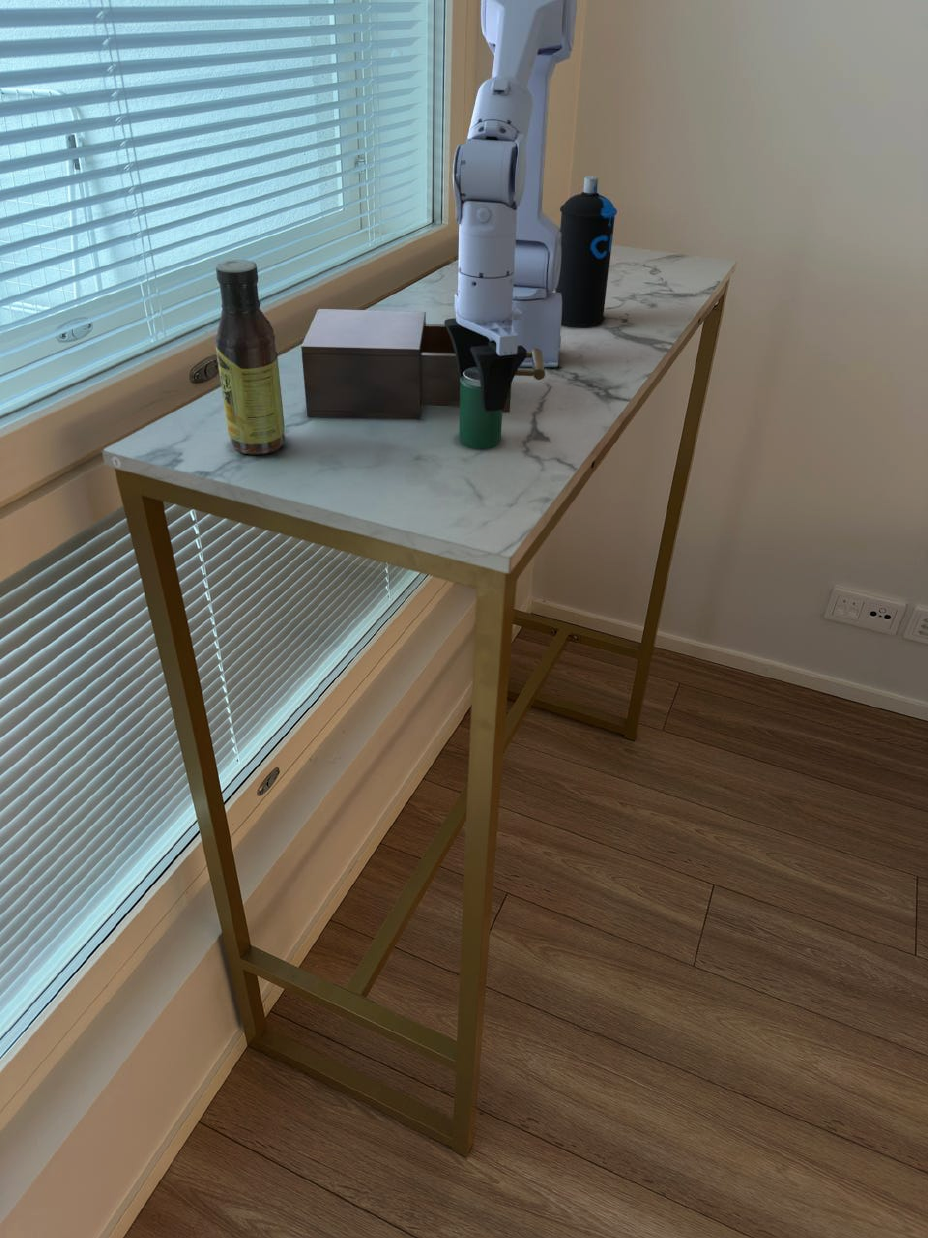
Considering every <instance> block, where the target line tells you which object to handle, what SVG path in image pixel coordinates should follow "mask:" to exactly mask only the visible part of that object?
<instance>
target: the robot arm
mask: <svg viewBox="0 0 928 1238" xmlns="http://www.w3.org/2000/svg"><path fill="white" fill-rule="evenodd" d="M577 11H578V0H481V2H480V22H481V23H480V25H481V33H482V34H483V36H484V38H485V41H486V42H487V44H488V47H489V49H490V51H491V53H492V55H493V65H492V74H491V75H492V76H491V78H488V79H486V80H485V81H484V82H483V83H482V84H481V85H480V86H479V88H478V90H477V94H476V97H475V103H474V107H473V111H472V116H471V120H470V124H469V129H468V133H467V137H466V140H465V141H464V144H461V143H458V144H457V146H456V149H455V152H454V158H453V165H452V166H453V168H452V185H453V187H452V188H453V195H454V202H455V222H456V224H459V228H458V229H459V230H458V275H457V276H458V278H457V279H458V280H457V281H458V283H457V293H455V294H454V312H455V318H446V319H445V320H444V321H443V324H445V327H446V329H447V331H448V333H449V335H450V337H451V340H452V343H453V346H454V350H455V354H456V359H457V364H458V369H459V374H460V379H461V378H462V377H463V373H464V371H465V370H466V369H469V368H472V367H477V368H478V372H479V377H480V384H481V396H482V403H483V407H484V410H485V411H486V412H489V411H498V410H503V409H504V406H505V403H506V400H507V397H508V393H509V390H510V387H511V388H512V384H513V381H514V379H515V377H516V376H515V374H516V372H517V370H518V369H519V368H520V367H532V358H526V355H527V352H532V350H534V349H540V350H541V351H542V356H543V362H544V368H557V367H559V352H560V349H561V343H562V335H561V331H562V330H561V328H562V324H561V318H562V295H561V293H555V289H556V288H557V286H558V281H559V275H560V266H561V232H560V227H559V225H557V223H556V222H554V221H553V220H552V219H551V218H550V217H549V216H547V215H546V214H545V212H543V196H544V184H545V182H544V181H545V168H546V167H545V166H546V152H547V151H546V150H547V139H548V138H547V137H548V121H549V104H550V91H551V81H552V77H553V75H554V71H555V68H556V65H557V64H559V63H562V62H564V61H566V60H568V59H570V58H571V57H572V56H571V55H572V51H573V49H574V43H575V31H576V22H577V21H576V20H577V14H578V13H577ZM489 339H490V341H489ZM488 343H489V346H488ZM532 368H533V367H532Z"/></svg>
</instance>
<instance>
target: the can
mask: <svg viewBox="0 0 928 1238" xmlns="http://www.w3.org/2000/svg"><path fill="white" fill-rule="evenodd" d="M502 423H503V413H502V410H498V411H489V412H486V411H485V410H484V407H483V403H482V396H481V384H480V377H479V372H478V368H477V367H472V368H469V369H466V370H465V371H464V373H463V377H462V378H461V380H460V407H459V429H458V430H459V431H458V432H459V433H458V434H459V435H458V440H459V443H460V444H461V445H462V446H464V447H466V448H469V449H473V450H490V449H493V448H497V447H498V446H499V445H500V444H501V442H502V427H503V424H502Z"/></svg>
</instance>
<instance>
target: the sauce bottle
mask: <svg viewBox="0 0 928 1238" xmlns="http://www.w3.org/2000/svg"><path fill="white" fill-rule="evenodd" d="M215 273H216V280H217V282H218V284H219V291H220V296H221V315H220V319H219V324H218V329H217V333H216V337H215V342H214V347H215V352H216V358H217V365H218V367H217V368H218V373H219V380H220V387H221V394H222V400H223V408H224V415H225V421H226V422H225V423H226V428H227V434H228V436H229V439H230V443H231V445H232V447H233V448H234V449H235V450H236V451H237V452H238V453H240V454H246V455H252V456H253V455H266V454H271V453H274V452H277V451H278V450H279V449H280V448H281V447H282V446H283V445H284V443H285V441H286V436H285V428H286V427H285V417H284V406H283V404H284V403H283V397H282V396H283V395H282V386H281V377H280V367H279V358H278V353H277V351H276V341H275V340H276V336H275V333H274V328H273V326H272V324H271V322H270V321H269V320H268V318H267V317H266V316H265V315H264V313H263V311H262V310H261V309H260V308H261V301H260V298H259V287H258V283H259V271H258V266H257V263H256V262H255V261H251V260H248V259H228V260H224V261H222V262H220V263H217V264H216V265H215Z"/></svg>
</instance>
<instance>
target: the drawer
mask: <svg viewBox="0 0 928 1238" xmlns="http://www.w3.org/2000/svg"><path fill="white" fill-rule="evenodd" d="M489 341H491V340H490V339H489ZM488 346H489V343H488ZM526 358H532V369H519V368H518V370H517V372H516V374H515V376H514V377H533V378H534V379H535V380H537V381H542V380H544V378H545V377H546V370H545V367H544V362H543V356H542V351H541V350H540V349H534V350H532V352H527V355H526ZM420 377H421V406H422V407H447V408H448V407H449V408H450V407H451V408H460V380H461V379H460V374H459V369H458V364H457V359H456V354H455V350H454V346H453V343H452V340H451V337H450V335H449V333H448V331H447V329H446V327H445V324H444V323H426V324H425V326H424V333H423V339H422V346H421V352H420ZM511 399H512V386H511V387H510V390H509V393H508V397H507V400H506V403H505V406H504V409H503V410H502V414H511V401H512V400H511Z"/></svg>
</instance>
